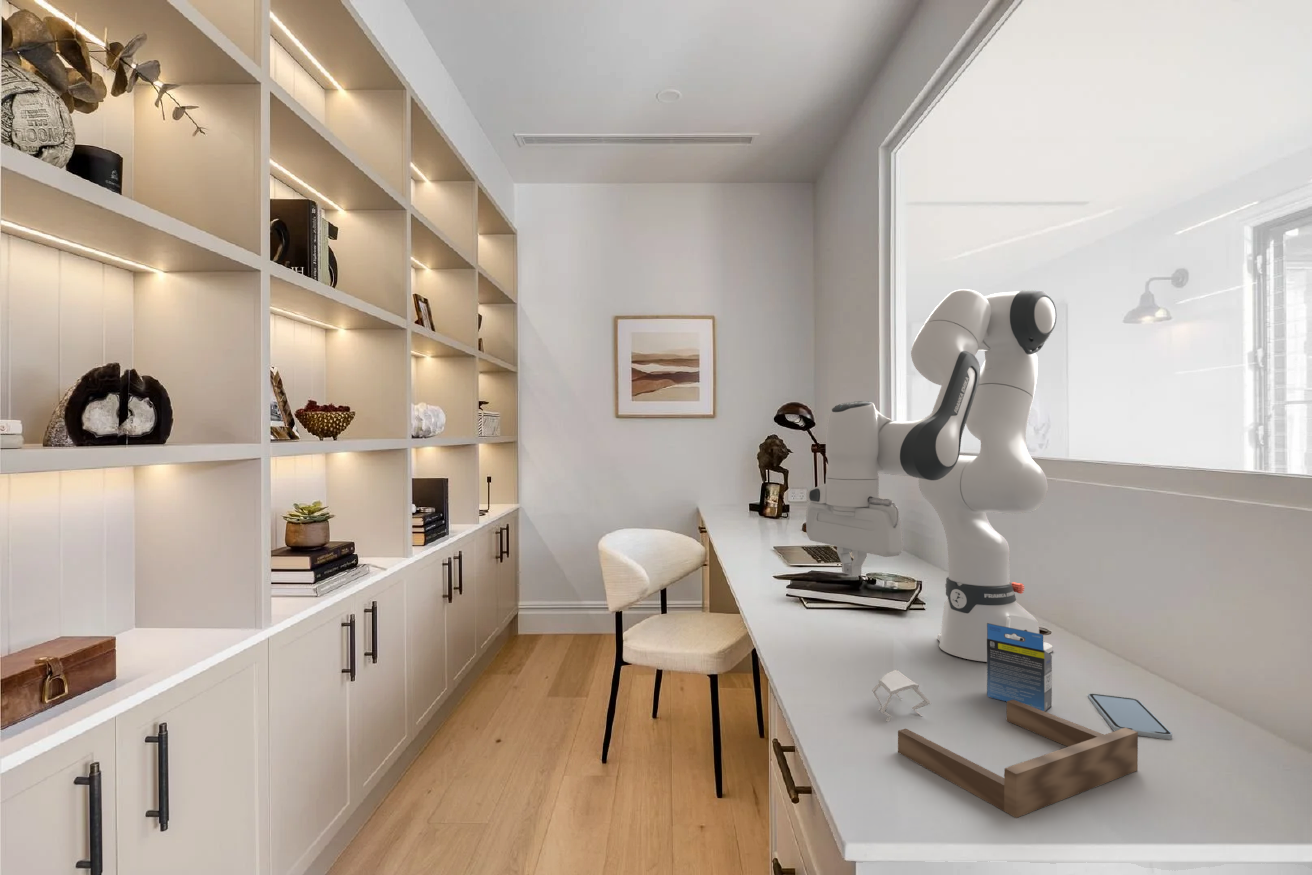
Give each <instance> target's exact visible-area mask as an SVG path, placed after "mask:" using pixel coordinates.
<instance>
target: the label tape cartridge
mask: <svg viewBox="0 0 1312 875" xmlns="http://www.w3.org/2000/svg"><path fill="white" fill-rule="evenodd" d="M1005 634H1009V635H1012V634H1016V635H1017V636H1018V637H1022V638H1023V639H1024V640H1023V641H1020V640H1016V639H1011V638H1006V637H1005ZM1043 641H1044V634H1043V633H1039V634H1038V633H1033V632H1028V631H1023V630H1019V629H1014V628H1009V627H1004V626H999V625H994V624H990V623H987V662H986V695H987V698H990V697H991V698H990V699H994V700H998V701H1001V702H1005V701H1006V703H1007V701H1009V700H1016V701H1018V702H1021V703H1024V704H1026V705H1029V706H1031V707H1034V708H1037V709H1039V710H1042V711H1044V712H1047V711H1048V710H1050V709H1051V707H1052V705H1053V704H1052V701H1053V700H1052V699H1053V690H1052V689H1053V672H1052V671H1053V670H1052V669H1053V662H1052V661H1053V660H1052V659H1053V658H1052V657H1053V656H1052V654H1051V653H1047V652H1046V651H1045V650H1044V646H1043Z"/></svg>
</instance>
